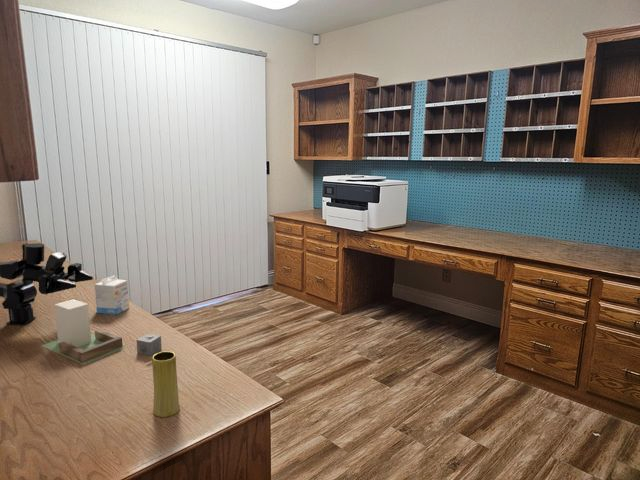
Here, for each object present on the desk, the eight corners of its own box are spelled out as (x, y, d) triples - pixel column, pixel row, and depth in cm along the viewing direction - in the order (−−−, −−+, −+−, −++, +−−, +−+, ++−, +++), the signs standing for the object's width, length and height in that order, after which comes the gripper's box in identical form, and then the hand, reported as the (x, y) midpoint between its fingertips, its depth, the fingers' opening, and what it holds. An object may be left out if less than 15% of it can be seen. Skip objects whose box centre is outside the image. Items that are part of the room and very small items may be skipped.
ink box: (115, 315, 163) (113, 281, 160) (96, 313, 164) (93, 279, 162) (129, 308, 171) (127, 275, 168) (111, 306, 173) (108, 273, 170)
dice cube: (150, 357, 131) (149, 342, 130) (137, 354, 133) (136, 339, 132) (161, 350, 136) (160, 335, 135) (148, 348, 137) (147, 333, 136)
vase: (157, 403, 107) (154, 350, 105) (182, 402, 108) (180, 349, 105) (149, 418, 102) (146, 362, 99) (176, 417, 102) (174, 361, 99)
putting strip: (41, 346, 136) (41, 345, 136) (84, 331, 148) (84, 330, 148) (83, 366, 124) (83, 364, 124) (126, 348, 136) (126, 347, 136)
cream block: (58, 342, 138) (54, 304, 135) (76, 336, 143) (73, 299, 140) (72, 349, 134) (69, 309, 131) (91, 342, 139) (88, 303, 136)
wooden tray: (59, 352, 131) (58, 343, 131) (99, 337, 142) (99, 329, 142) (82, 362, 125) (81, 353, 125) (122, 346, 136) (122, 337, 136)
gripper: (21, 258, 140) (67, 266, 139) (60, 246, 158) (101, 253, 157) (21, 290, 142) (66, 299, 141) (60, 275, 160) (100, 282, 159)
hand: (84, 281), depth 150 cm, fingers open, 9 cm apart
